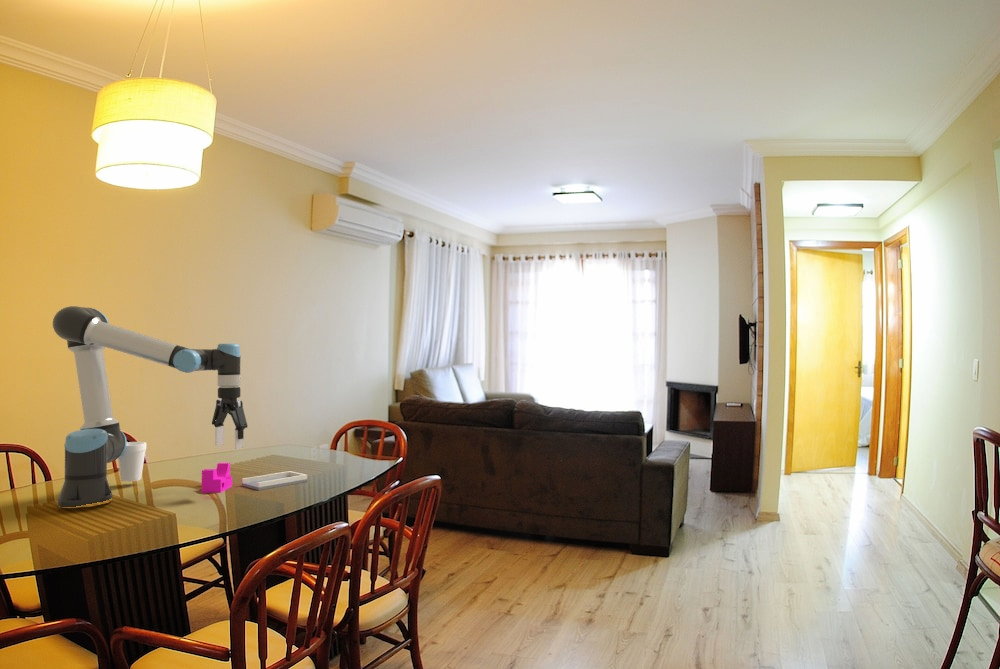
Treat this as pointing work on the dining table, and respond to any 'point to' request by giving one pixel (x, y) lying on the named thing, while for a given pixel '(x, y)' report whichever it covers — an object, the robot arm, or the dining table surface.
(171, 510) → the dining table surface
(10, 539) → the dining table surface
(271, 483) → the tray
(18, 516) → the dining table surface
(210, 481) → the toy block
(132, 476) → the foam cup
